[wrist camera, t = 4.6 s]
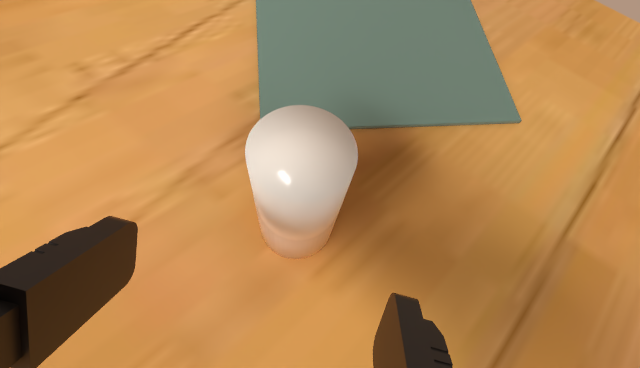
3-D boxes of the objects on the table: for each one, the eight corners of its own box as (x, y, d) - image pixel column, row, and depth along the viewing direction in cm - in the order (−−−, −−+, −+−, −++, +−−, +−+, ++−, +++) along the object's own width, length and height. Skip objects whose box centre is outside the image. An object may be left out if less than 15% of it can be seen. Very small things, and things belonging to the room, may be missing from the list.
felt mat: (451, -38, 35) (453, -41, 35) (519, 122, 27) (521, 120, 27) (254, -44, 33) (254, -47, 33) (260, 132, 25) (260, 129, 24)
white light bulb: (327, 189, 23) (349, 103, 15) (335, 256, 21) (366, 198, 13) (259, 193, 23) (244, 106, 14) (261, 262, 21) (245, 206, 13)
